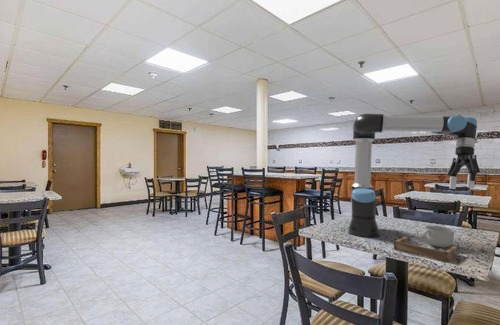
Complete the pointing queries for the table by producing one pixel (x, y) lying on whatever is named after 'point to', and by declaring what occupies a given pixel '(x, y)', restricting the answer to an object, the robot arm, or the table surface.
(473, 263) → the table surface
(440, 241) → the teacup
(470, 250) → the table surface
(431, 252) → the wooden tray
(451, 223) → the table surface
